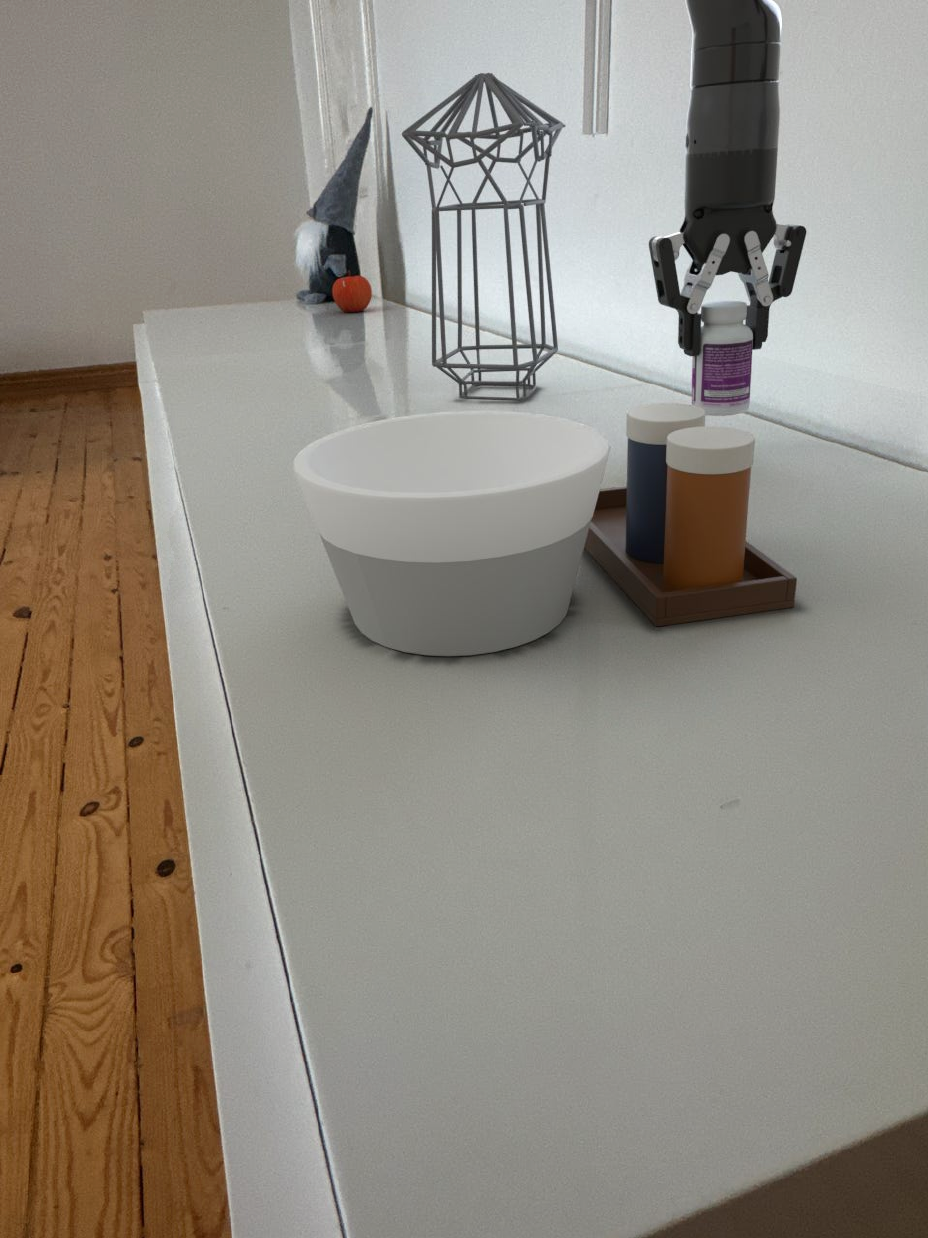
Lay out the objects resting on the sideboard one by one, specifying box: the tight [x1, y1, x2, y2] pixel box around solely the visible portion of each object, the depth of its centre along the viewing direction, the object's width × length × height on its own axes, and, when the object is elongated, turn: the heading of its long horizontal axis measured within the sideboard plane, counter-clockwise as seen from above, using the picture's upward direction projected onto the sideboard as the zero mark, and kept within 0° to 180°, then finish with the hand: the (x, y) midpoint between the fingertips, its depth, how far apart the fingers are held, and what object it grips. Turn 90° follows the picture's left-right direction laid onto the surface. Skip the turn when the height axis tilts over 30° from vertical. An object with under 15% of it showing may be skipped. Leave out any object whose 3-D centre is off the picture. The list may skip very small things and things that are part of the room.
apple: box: [332, 269, 373, 314], centre depth 195 cm, size 8×8×8 cm
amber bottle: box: [663, 425, 756, 592], centre depth 61 cm, size 5×5×10 cm
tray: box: [584, 485, 798, 627], centre depth 69 cm, size 9×21×2 cm, turn 12°
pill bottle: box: [691, 300, 753, 417], centre depth 89 cm, size 5×5×10 cm
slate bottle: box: [625, 402, 707, 563], centre depth 67 cm, size 5×5×10 cm
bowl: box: [292, 410, 611, 657], centre depth 61 cm, size 19×19×11 cm
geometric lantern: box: [401, 72, 566, 402], centre depth 113 cm, size 16×16×35 cm
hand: (722, 350), depth 88 cm, fingers closed on pill bottle, 5 cm apart
